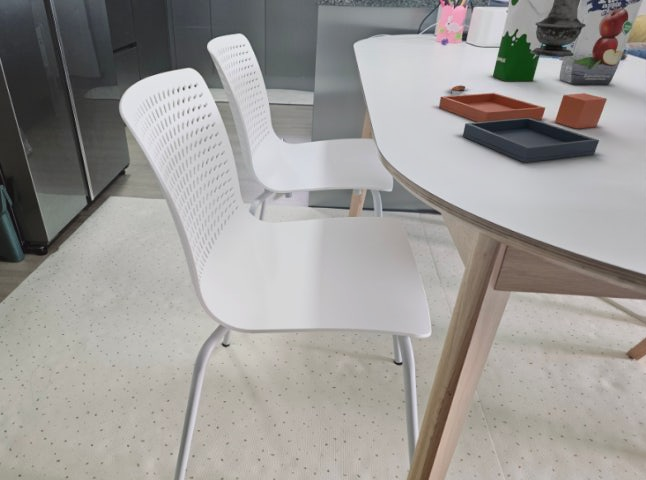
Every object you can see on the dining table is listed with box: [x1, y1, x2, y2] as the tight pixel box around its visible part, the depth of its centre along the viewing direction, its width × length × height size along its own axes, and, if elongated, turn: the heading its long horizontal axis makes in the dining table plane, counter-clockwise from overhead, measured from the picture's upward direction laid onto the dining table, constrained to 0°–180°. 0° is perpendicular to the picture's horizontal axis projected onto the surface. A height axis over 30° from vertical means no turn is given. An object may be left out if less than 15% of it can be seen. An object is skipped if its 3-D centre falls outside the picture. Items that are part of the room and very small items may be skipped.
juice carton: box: [558, 0, 643, 86], centre depth 105 cm, size 9×10×27 cm
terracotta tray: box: [438, 92, 546, 122], centre depth 85 cm, size 12×13×2 cm
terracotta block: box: [554, 92, 608, 130], centre depth 78 cm, size 4×4×4 cm
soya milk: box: [492, 0, 554, 82], centre depth 111 cm, size 9×9×20 cm
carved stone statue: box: [530, 0, 586, 58], centre depth 60 cm, size 6×6×12 cm
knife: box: [449, 84, 466, 96], centre depth 100 cm, size 13×1×3 cm
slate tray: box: [462, 118, 600, 163], centre depth 69 cm, size 12×13×2 cm
